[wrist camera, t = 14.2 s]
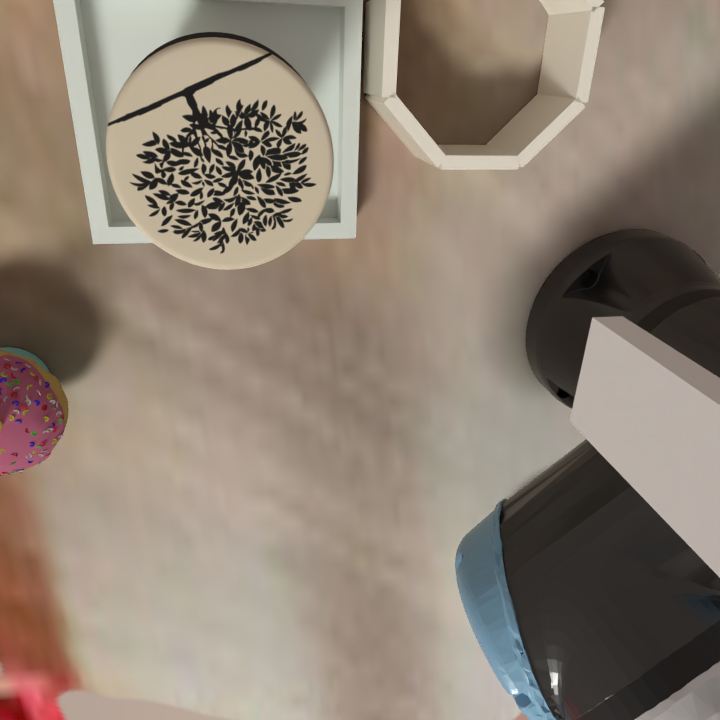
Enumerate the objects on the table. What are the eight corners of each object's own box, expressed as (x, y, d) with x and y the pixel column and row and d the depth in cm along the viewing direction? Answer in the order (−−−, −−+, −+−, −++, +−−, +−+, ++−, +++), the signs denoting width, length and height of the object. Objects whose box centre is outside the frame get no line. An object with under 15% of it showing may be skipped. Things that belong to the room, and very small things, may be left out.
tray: (354, -10, 36) (363, -14, 33) (348, 228, 42) (355, 238, 40) (59, -28, 32) (48, -33, 30) (100, 233, 39) (93, 244, 36)
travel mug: (304, 166, 38) (363, 244, 23) (180, 200, 38) (152, 303, 22) (267, 25, 35) (309, 0, 19) (129, 60, 34) (51, 63, 18)
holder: (572, -61, 37) (620, -77, 32) (538, 157, 42) (575, 169, 38) (368, -78, 34) (390, -97, 30) (360, 156, 40) (378, 169, 35)
